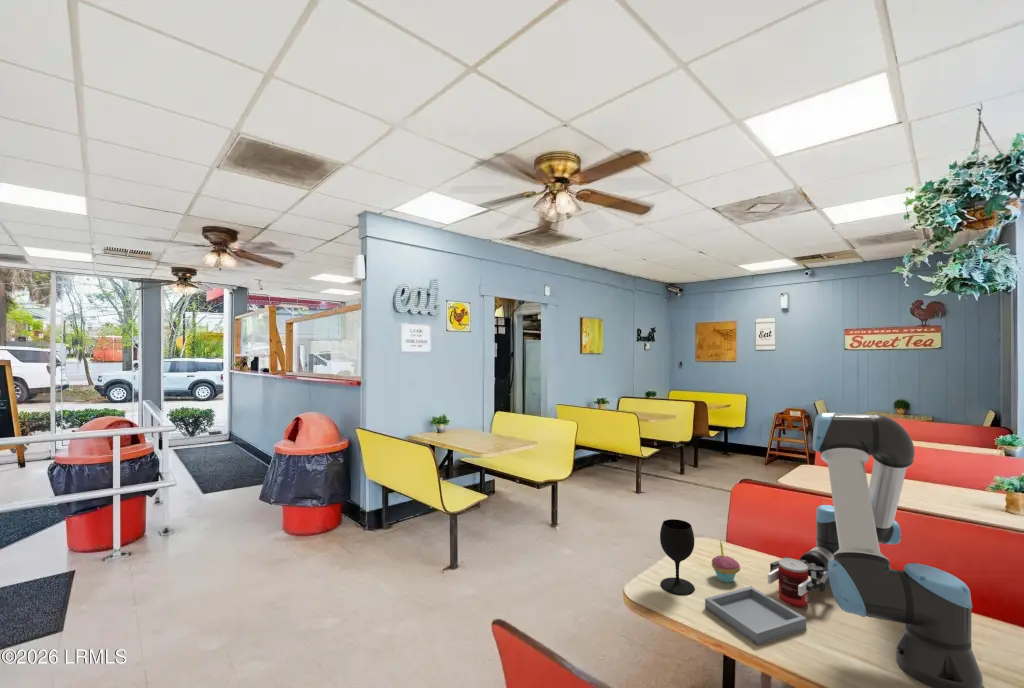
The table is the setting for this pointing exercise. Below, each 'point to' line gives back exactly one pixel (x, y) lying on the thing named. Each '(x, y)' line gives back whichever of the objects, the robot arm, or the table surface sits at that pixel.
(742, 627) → the tray
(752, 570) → the table surface
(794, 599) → the canned food
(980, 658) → the table surface
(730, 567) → the cupcake
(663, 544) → the wine glass
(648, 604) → the table surface
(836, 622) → the table surface
